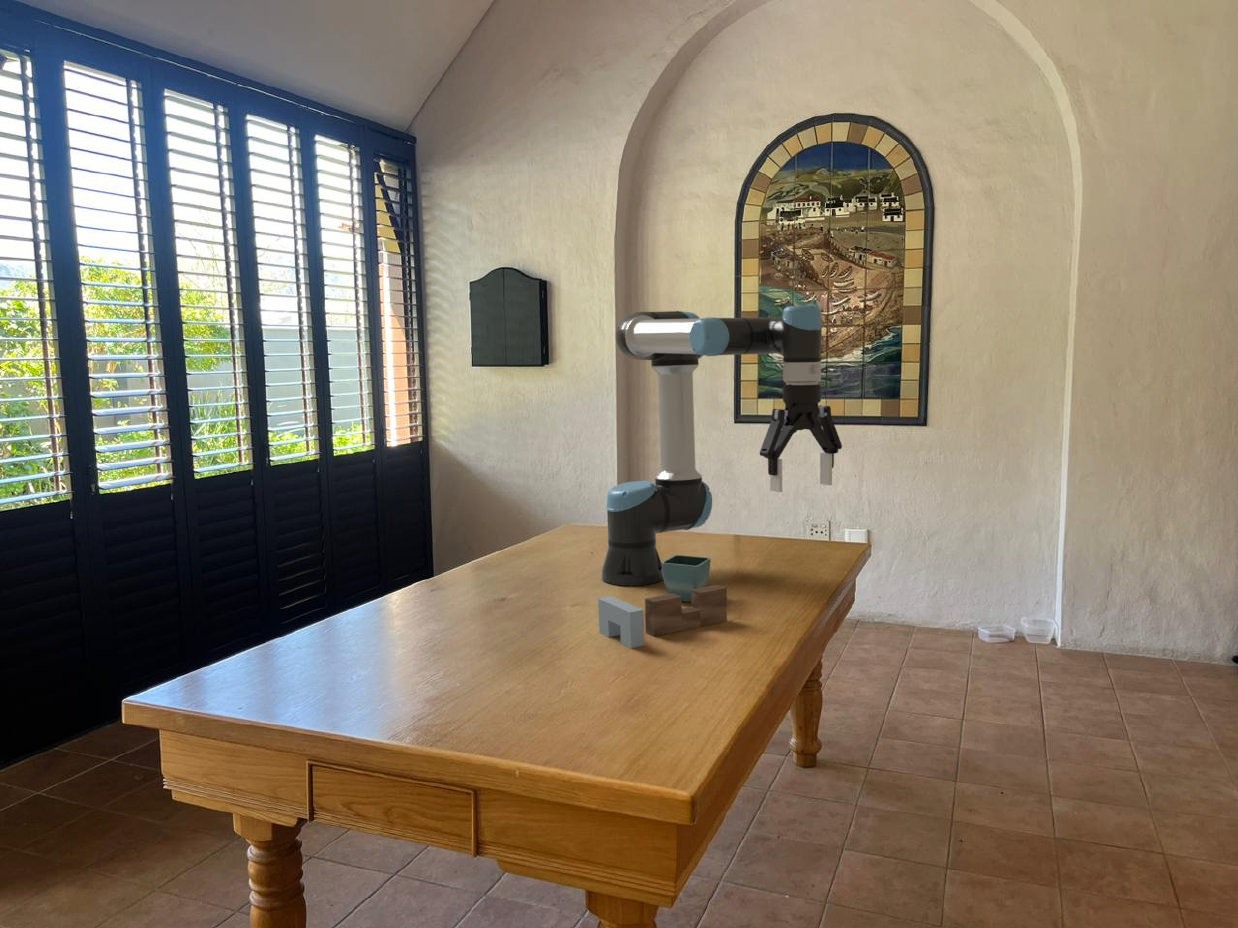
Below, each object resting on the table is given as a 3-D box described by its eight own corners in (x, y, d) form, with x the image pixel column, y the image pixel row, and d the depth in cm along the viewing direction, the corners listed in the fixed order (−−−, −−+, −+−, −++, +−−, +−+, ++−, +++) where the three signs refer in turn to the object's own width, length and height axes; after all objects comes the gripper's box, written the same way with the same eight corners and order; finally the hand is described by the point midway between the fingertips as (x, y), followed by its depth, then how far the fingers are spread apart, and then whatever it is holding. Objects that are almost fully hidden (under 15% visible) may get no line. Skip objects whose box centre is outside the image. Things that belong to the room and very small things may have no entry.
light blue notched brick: (599, 632, 188) (598, 598, 187) (612, 629, 189) (611, 596, 188) (630, 648, 177) (630, 612, 176) (644, 645, 179) (643, 609, 178)
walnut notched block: (645, 632, 187) (644, 598, 186) (718, 617, 196) (717, 584, 195) (653, 636, 184) (653, 601, 183) (726, 620, 193) (726, 587, 192)
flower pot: (712, 595, 213) (711, 557, 212) (698, 606, 205) (698, 565, 204) (675, 592, 216) (675, 554, 215) (661, 602, 209) (660, 562, 207)
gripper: (766, 386, 179) (767, 496, 182) (860, 381, 192) (858, 483, 195) (741, 385, 185) (742, 491, 188) (833, 380, 198) (832, 479, 201)
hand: (801, 487), depth 191 cm, fingers open, 13 cm apart
